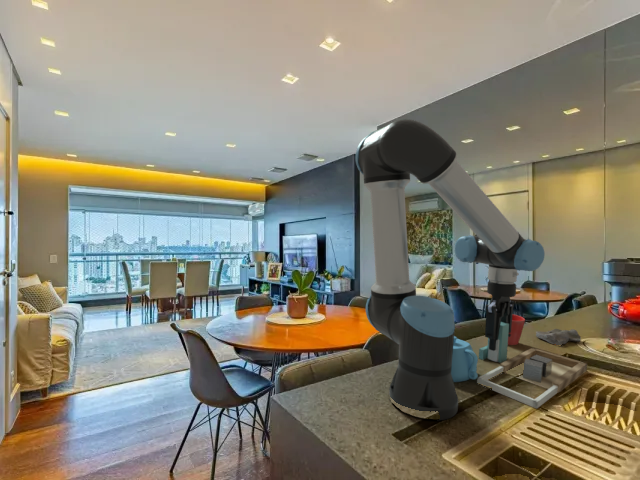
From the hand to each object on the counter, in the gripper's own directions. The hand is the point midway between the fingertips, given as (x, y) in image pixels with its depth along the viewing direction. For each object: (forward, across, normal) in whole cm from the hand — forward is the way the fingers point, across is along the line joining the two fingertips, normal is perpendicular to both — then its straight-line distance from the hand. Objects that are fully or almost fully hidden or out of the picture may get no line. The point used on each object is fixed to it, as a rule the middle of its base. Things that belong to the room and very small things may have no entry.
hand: (496, 358), depth 102 cm
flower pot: (+1, +19, +6) cm, 20 cm away
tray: (+1, -14, -12) cm, 18 cm away
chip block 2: (0, 0, -12) cm, 12 cm away
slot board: (+1, +3, -12) cm, 12 cm away
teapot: (+1, -20, +4) cm, 20 cm away
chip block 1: (0, -4, -12) cm, 12 cm away
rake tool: (+1, 0, 0) cm, 1 cm away
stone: (+2, +40, -4) cm, 40 cm away
